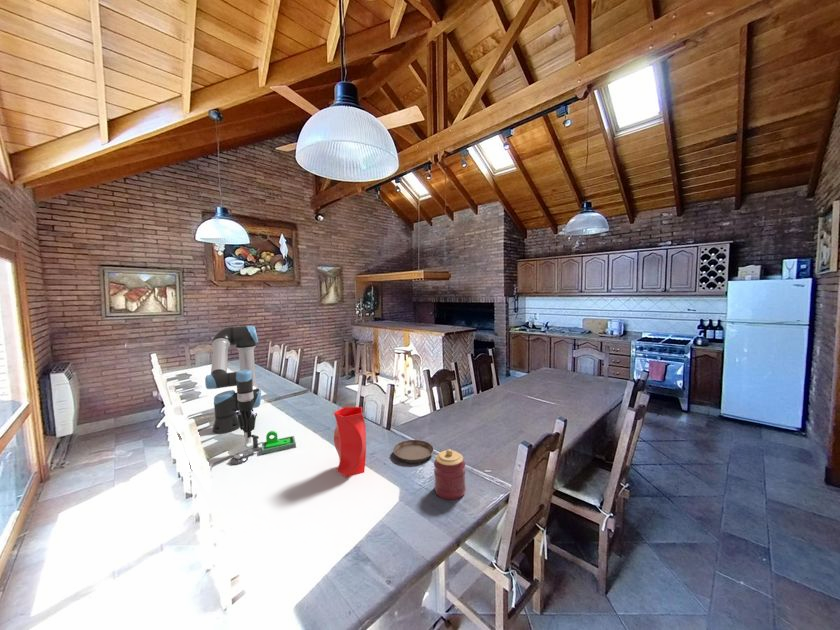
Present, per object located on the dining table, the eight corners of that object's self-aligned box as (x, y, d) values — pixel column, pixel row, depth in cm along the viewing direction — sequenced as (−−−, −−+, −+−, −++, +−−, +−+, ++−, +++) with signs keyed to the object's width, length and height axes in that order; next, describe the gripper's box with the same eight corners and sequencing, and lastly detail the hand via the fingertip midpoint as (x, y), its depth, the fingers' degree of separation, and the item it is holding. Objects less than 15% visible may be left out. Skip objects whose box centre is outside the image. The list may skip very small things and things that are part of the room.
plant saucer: (439, 449, 171) (439, 443, 170) (423, 469, 152) (423, 462, 152) (405, 442, 179) (405, 437, 179) (385, 460, 161) (385, 454, 161)
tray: (262, 446, 179) (261, 442, 179) (293, 439, 187) (293, 435, 187) (262, 454, 170) (262, 450, 170) (296, 447, 177) (295, 443, 177)
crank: (237, 460, 161) (236, 445, 161) (232, 458, 164) (231, 443, 163) (260, 450, 172) (259, 436, 171) (255, 448, 174) (254, 434, 174)
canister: (457, 504, 126) (456, 460, 124) (428, 494, 133) (427, 452, 131) (470, 486, 137) (470, 446, 135) (443, 478, 144) (442, 439, 142)
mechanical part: (266, 450, 173) (265, 436, 173) (267, 445, 179) (266, 431, 178) (290, 446, 178) (289, 431, 177) (290, 441, 184) (289, 427, 183)
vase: (372, 464, 157) (370, 407, 156) (357, 480, 144) (354, 419, 142) (345, 459, 162) (343, 405, 161) (328, 475, 149) (325, 415, 147)
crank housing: (230, 459, 166) (230, 456, 166) (248, 455, 170) (248, 453, 170) (229, 466, 159) (229, 463, 159) (247, 462, 163) (247, 459, 163)
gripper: (230, 400, 170) (233, 444, 172) (248, 403, 165) (251, 447, 167) (242, 396, 177) (245, 438, 179) (260, 398, 172) (262, 441, 174)
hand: (248, 442), depth 173 cm, fingers closed
